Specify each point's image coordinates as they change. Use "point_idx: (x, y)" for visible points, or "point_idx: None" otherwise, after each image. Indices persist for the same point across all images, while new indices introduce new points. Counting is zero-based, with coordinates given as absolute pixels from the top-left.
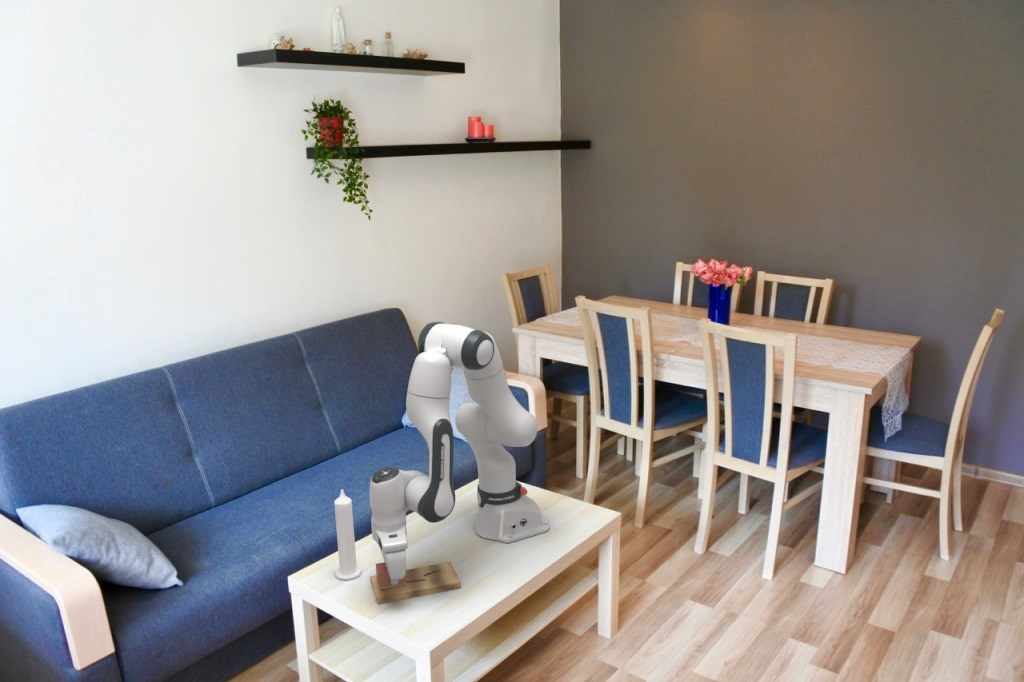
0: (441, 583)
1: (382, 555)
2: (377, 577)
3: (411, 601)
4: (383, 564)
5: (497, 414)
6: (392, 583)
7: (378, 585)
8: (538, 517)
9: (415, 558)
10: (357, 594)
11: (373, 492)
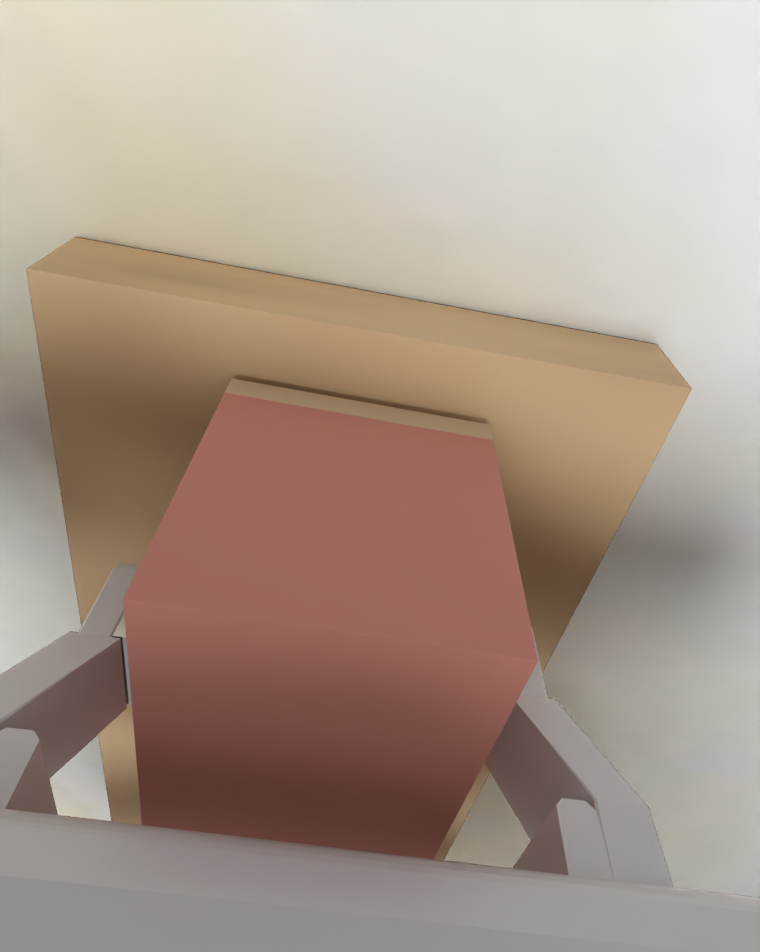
0: (139, 809)
1: (530, 934)
2: (365, 478)
3: (45, 560)
4: (409, 742)
5: None
6: (109, 584)
7: (309, 405)
8: None
9: (710, 771)
10: (481, 34)
11: None
